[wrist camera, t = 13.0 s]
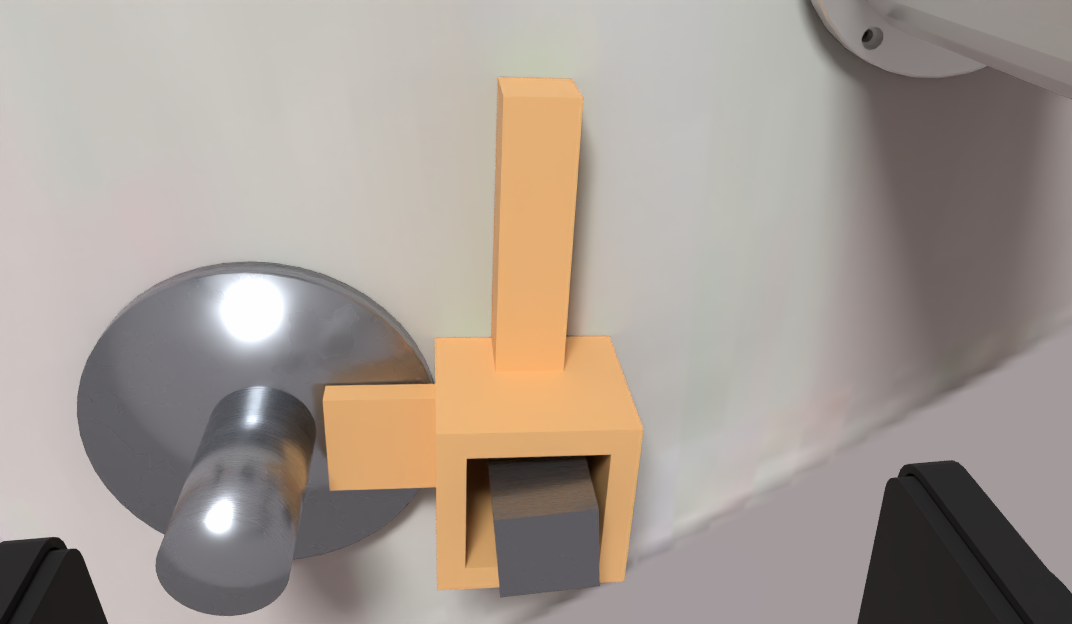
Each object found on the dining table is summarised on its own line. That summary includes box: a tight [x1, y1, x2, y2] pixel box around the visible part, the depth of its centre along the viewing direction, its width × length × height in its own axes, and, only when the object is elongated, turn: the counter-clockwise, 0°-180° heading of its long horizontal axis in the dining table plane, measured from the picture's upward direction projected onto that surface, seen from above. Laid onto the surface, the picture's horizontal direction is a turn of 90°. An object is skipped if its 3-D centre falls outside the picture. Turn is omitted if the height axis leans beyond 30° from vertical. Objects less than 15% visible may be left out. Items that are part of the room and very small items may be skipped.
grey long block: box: [487, 455, 600, 597], centre depth 38 cm, size 4×4×10 cm
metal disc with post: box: [77, 262, 433, 616], centre depth 37 cm, size 16×16×10 cm
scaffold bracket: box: [323, 77, 644, 590], centre depth 36 cm, size 13×20×8 cm, turn 178°
